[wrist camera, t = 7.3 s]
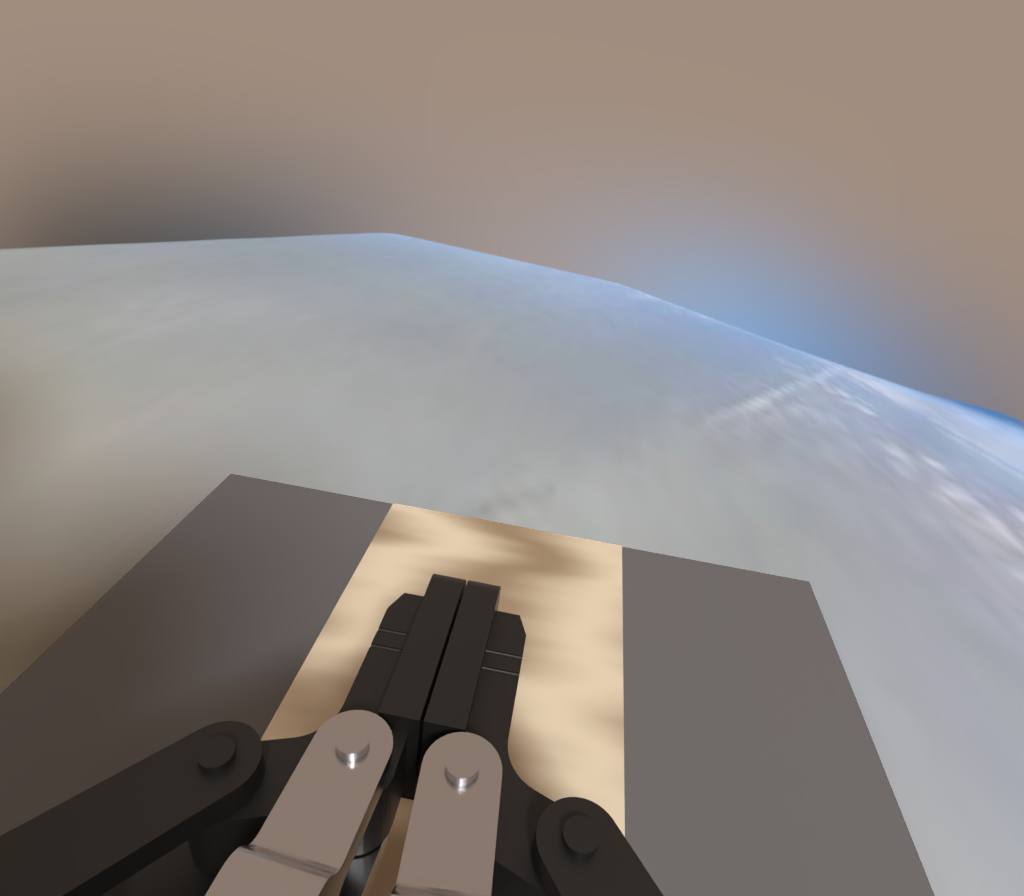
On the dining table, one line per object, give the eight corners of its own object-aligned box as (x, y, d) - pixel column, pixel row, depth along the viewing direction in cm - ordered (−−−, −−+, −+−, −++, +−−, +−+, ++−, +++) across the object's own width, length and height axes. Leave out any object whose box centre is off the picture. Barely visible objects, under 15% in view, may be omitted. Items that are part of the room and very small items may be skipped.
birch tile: (171, 898, 12) (393, 503, 24) (186, 949, 13) (391, 545, 25) (626, 1008, 12) (621, 545, 24) (604, 1051, 13) (610, 588, 25)
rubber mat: (-759, 1481, 8) (-818, 1479, 8) (232, 488, 29) (230, 473, 28) (1417, 2235, 6) (1489, 2285, 6) (802, 595, 27) (809, 581, 27)
